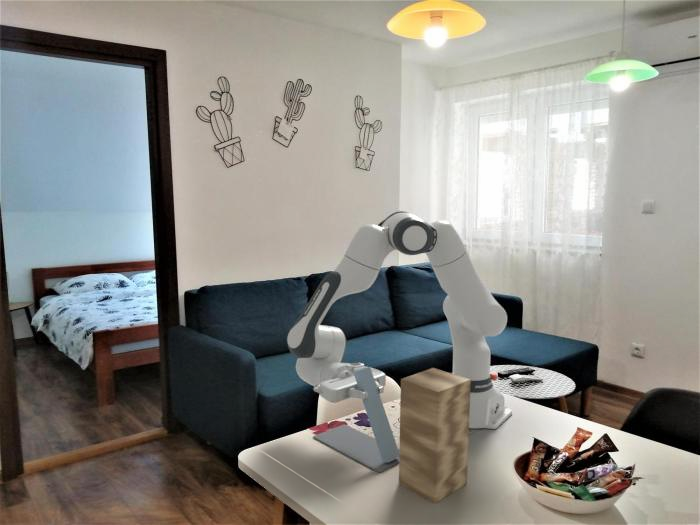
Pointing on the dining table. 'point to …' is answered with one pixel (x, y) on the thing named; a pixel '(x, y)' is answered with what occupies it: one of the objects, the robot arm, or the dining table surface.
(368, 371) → the slat
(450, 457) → the oak stand
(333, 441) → the mat
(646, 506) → the dining table surface
